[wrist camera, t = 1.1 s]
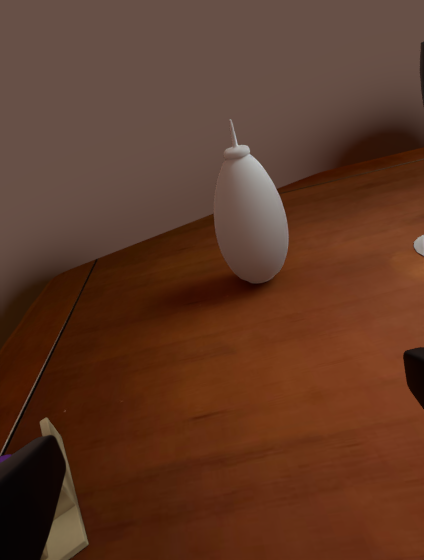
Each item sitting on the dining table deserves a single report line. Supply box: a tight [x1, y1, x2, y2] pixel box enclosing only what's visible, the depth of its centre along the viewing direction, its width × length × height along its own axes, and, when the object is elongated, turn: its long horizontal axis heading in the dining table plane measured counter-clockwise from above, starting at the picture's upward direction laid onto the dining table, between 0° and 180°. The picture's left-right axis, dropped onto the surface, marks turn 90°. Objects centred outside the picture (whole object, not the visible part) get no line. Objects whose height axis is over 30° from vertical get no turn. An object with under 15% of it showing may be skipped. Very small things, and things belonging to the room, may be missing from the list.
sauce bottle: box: [214, 120, 289, 283], centre depth 37 cm, size 8×8×18 cm
